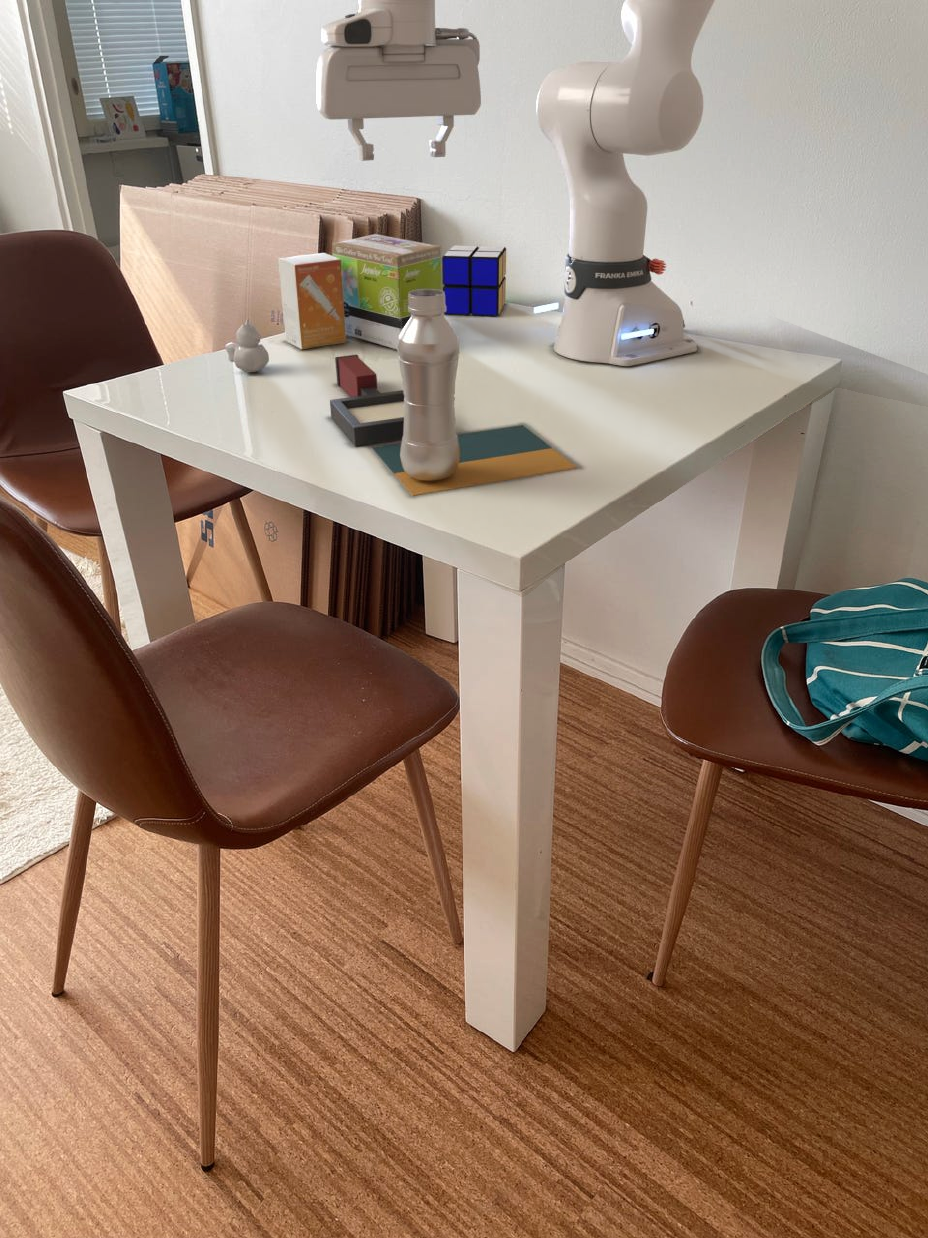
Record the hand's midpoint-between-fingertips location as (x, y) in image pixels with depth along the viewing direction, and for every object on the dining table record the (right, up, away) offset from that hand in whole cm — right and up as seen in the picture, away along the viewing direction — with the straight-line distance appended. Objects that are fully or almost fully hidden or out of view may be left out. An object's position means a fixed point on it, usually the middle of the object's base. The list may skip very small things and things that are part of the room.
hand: (402, 158), depth 117 cm
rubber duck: (-24, -21, +22) cm, 39 cm away
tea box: (-5, -12, +37) cm, 39 cm away
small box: (-16, -13, +35) cm, 41 cm away
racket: (-4, -30, +7) cm, 31 cm away
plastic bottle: (+4, -42, -12) cm, 44 cm away
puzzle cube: (+10, -2, +53) cm, 53 cm away
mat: (+9, -39, -7) cm, 40 cm away
